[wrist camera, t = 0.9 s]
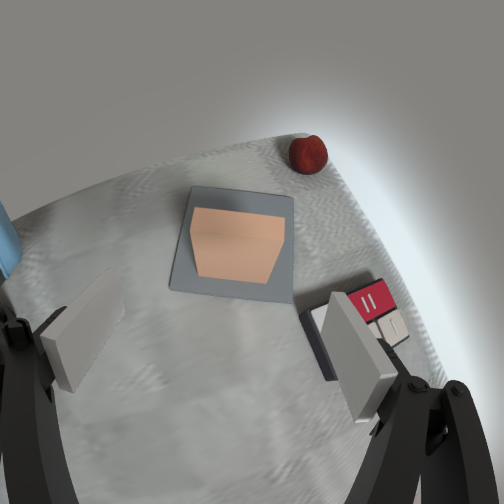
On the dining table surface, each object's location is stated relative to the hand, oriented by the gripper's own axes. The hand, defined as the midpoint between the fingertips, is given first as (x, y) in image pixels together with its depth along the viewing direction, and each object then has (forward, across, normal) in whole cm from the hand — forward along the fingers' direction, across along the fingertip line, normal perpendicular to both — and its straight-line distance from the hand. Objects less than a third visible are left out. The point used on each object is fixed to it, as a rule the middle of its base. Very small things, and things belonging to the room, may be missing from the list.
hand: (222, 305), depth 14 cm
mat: (+30, 0, -5) cm, 31 cm away
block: (+26, 0, -9) cm, 27 cm away
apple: (+43, +12, +7) cm, 45 cm away
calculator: (+21, +20, -15) cm, 33 cm away
